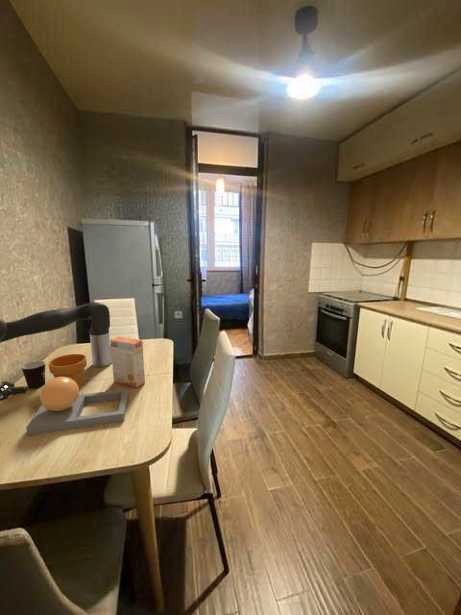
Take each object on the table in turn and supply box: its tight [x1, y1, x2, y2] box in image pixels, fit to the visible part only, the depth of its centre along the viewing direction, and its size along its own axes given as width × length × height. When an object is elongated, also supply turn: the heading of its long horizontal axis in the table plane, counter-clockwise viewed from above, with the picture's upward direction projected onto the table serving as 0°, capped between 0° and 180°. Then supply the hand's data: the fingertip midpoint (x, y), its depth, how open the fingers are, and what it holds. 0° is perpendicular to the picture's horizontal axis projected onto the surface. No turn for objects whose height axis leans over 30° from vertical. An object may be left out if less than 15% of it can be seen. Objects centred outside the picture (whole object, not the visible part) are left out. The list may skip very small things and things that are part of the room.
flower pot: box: [48, 353, 88, 389], centre depth 120 cm, size 14×14×13 cm
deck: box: [25, 388, 129, 436], centre depth 102 cm, size 30×18×3 cm, turn 106°
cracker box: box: [110, 336, 146, 389], centre depth 123 cm, size 14×6×21 cm, turn 65°
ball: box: [39, 377, 80, 411], centre depth 98 cm, size 12×12×12 cm
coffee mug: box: [21, 360, 46, 390], centre depth 123 cm, size 12×9×10 cm
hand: (25, 389), depth 95 cm, fingers closed
